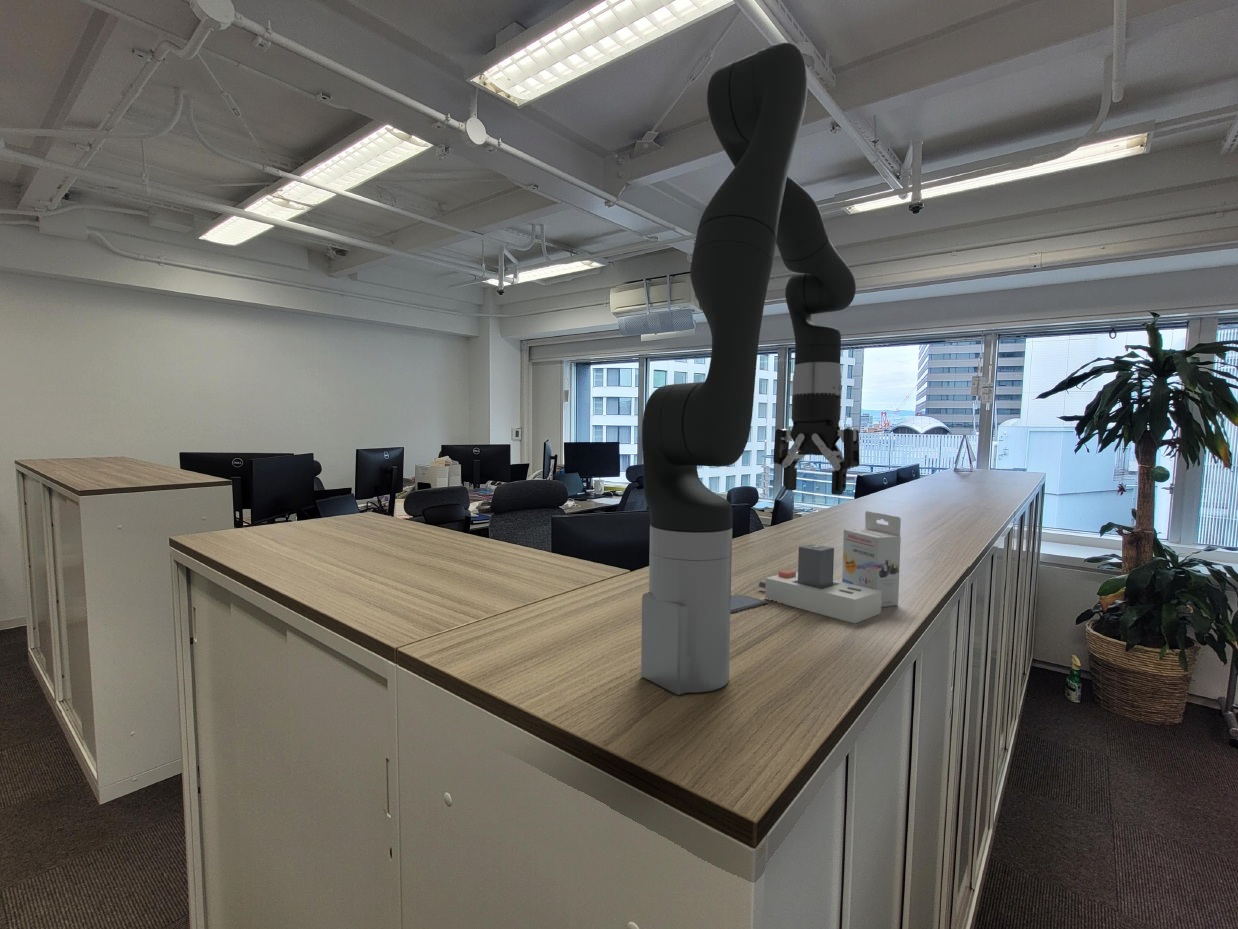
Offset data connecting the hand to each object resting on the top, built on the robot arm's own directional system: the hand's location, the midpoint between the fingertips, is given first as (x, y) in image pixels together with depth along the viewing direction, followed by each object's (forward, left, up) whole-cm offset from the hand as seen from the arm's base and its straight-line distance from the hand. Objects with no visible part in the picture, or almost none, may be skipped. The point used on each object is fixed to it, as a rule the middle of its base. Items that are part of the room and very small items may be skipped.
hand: (813, 492), depth 91 cm
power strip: (+1, +1, -19) cm, 19 cm away
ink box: (+11, -5, -19) cm, 22 cm away
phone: (-11, +8, -19) cm, 24 cm away
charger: (+1, 0, -18) cm, 18 cm away
